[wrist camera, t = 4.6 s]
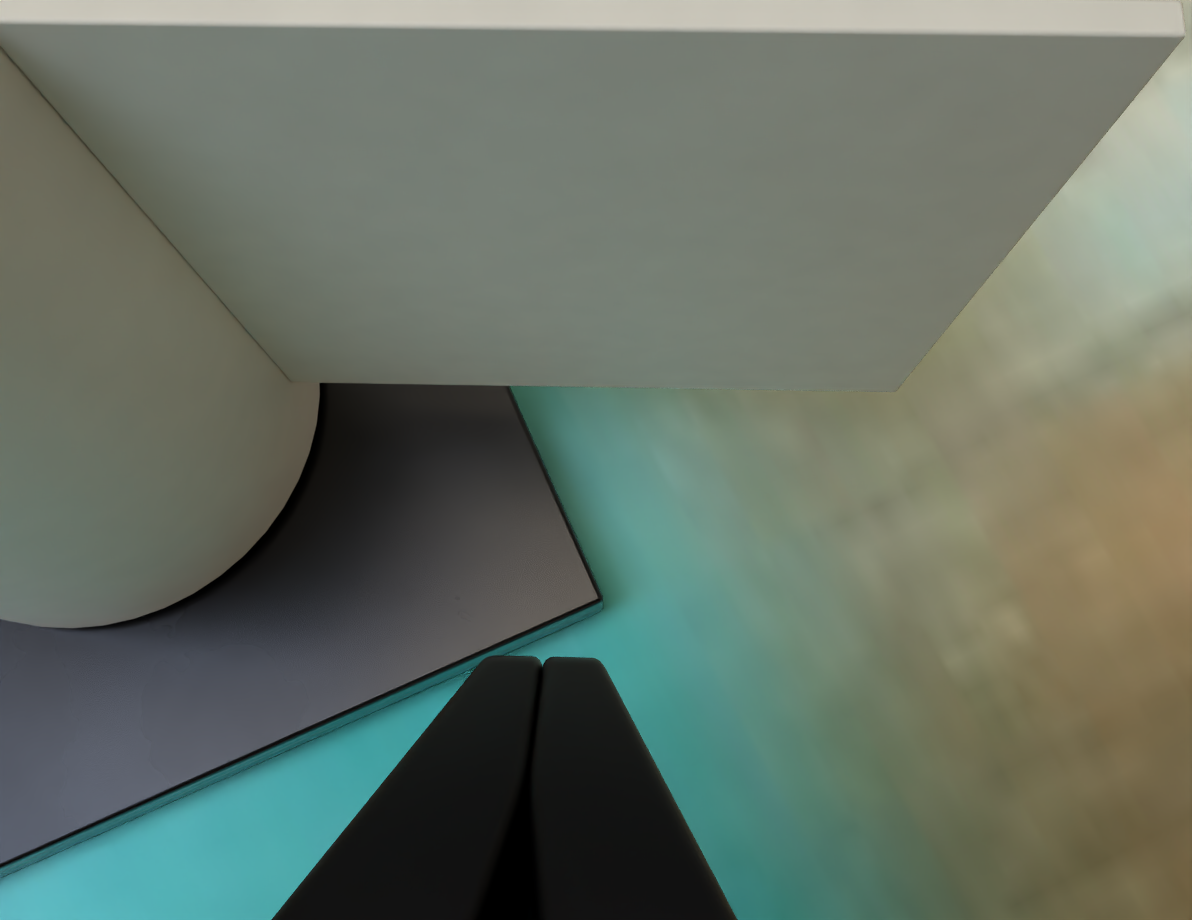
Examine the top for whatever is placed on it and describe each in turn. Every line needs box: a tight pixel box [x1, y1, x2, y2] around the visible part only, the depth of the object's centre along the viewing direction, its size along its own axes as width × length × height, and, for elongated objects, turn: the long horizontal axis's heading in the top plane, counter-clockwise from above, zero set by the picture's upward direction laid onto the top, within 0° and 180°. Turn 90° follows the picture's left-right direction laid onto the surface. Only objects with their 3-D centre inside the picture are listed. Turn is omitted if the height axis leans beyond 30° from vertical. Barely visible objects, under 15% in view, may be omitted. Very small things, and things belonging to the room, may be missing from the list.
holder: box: [0, 383, 603, 878], centre depth 18 cm, size 12×12×1 cm
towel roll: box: [0, 0, 1186, 628], centre depth 12 cm, size 9×14×10 cm, turn 114°
